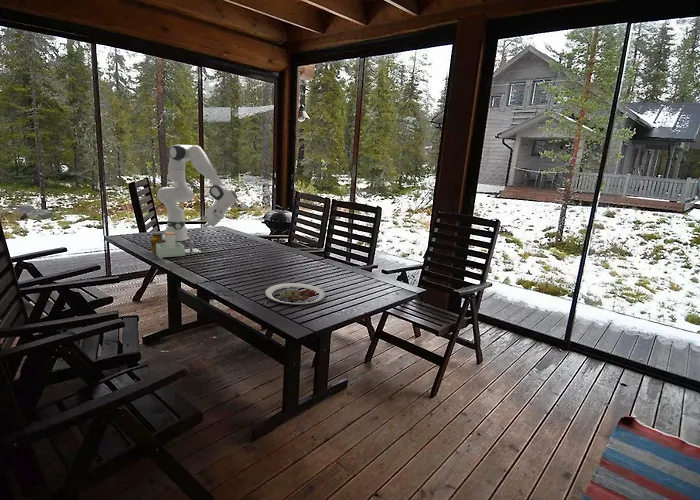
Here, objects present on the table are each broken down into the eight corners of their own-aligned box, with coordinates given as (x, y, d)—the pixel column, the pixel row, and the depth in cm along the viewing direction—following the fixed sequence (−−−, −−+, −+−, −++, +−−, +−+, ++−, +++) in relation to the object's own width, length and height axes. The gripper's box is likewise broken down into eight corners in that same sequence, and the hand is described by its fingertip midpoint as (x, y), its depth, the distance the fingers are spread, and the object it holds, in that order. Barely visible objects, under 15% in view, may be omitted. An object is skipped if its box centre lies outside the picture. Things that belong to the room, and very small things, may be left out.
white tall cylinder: (165, 253, 246) (164, 232, 243) (173, 253, 249) (173, 231, 246) (167, 255, 242) (166, 233, 239) (175, 255, 245) (175, 233, 242)
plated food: (253, 292, 196) (253, 286, 195) (301, 283, 217) (301, 277, 216) (288, 312, 175) (288, 305, 174) (337, 299, 196) (337, 293, 195)
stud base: (181, 251, 259) (181, 240, 257) (197, 250, 265) (197, 239, 263) (185, 255, 251) (185, 243, 250) (201, 253, 257) (201, 242, 255)
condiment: (148, 252, 251) (148, 233, 248) (159, 249, 259) (158, 232, 256) (157, 253, 249) (157, 235, 246) (167, 251, 256) (167, 233, 254)
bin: (156, 254, 247) (155, 243, 246) (179, 252, 256) (179, 242, 254) (160, 259, 236) (160, 248, 235) (184, 257, 245) (184, 247, 243)
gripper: (211, 200, 267) (197, 214, 268) (216, 213, 251) (202, 228, 252) (218, 206, 271) (205, 220, 272) (224, 219, 256) (209, 233, 256)
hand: (203, 224), depth 262 cm, fingers open, 8 cm apart
